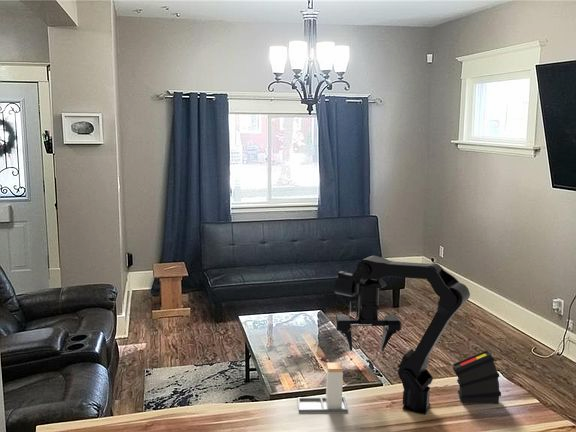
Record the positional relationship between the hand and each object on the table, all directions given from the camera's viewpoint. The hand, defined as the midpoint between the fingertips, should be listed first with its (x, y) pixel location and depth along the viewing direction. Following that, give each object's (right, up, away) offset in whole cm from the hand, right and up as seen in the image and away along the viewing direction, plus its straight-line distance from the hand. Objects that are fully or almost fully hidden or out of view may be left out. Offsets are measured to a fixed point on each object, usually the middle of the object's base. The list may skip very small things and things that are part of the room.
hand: (366, 350), depth 170 cm
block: (-10, -14, -8) cm, 19 cm away
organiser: (-13, -14, -8) cm, 21 cm away
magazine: (+31, -14, -2) cm, 34 cm away
